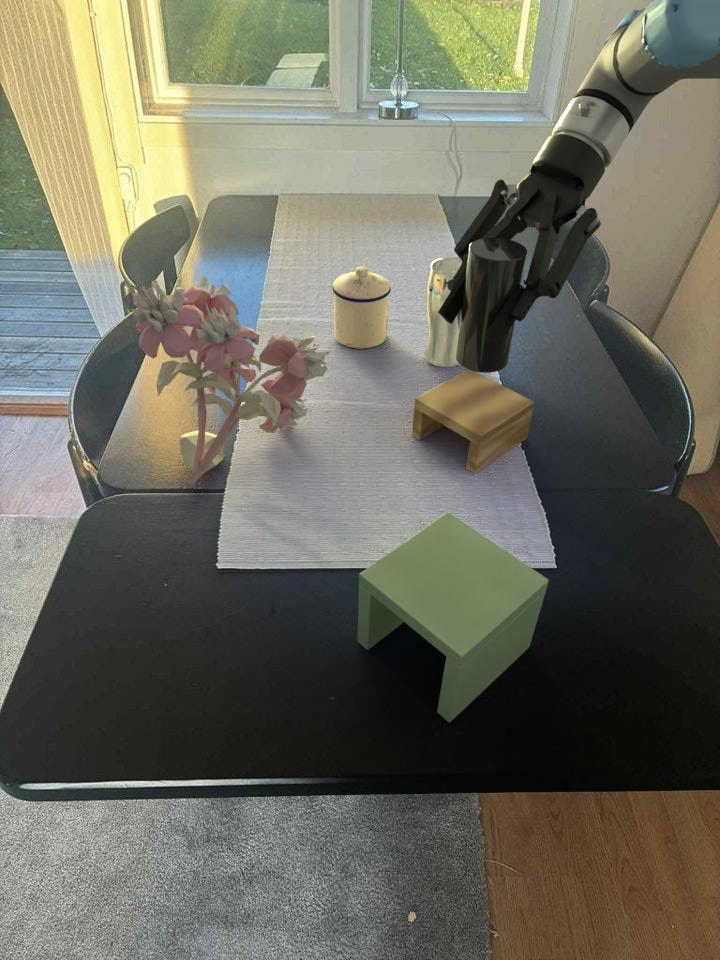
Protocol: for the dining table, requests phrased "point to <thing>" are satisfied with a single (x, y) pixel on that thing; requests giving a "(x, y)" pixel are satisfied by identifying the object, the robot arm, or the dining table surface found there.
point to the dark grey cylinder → (488, 301)
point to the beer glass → (440, 330)
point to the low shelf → (475, 416)
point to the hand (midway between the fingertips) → (468, 328)
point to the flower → (223, 364)
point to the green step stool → (454, 604)
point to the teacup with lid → (361, 308)
